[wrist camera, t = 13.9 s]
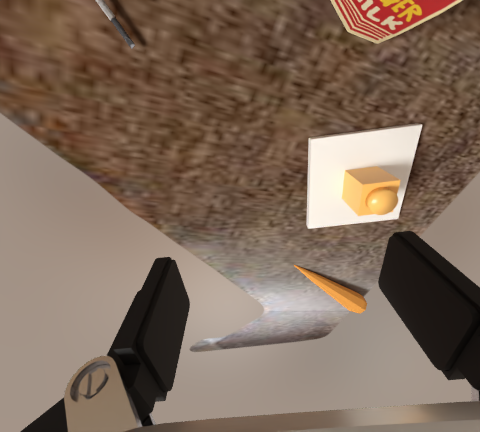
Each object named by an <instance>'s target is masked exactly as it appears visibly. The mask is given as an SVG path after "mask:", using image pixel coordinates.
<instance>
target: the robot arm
mask: <svg viewBox="0 0 480 432" xmlns="http://www.w3.org/2000/svg"><path fill="white" fill-rule="evenodd" d="M378 283H379V287H380V289H381V291H382V292H383V294H384V295H385V297H386V298H387V299H388V301H389V302H390V304H391V305H392V307H393V308H394V309H395V311H396V312H397V314H398V315H399V317H400V318H401V319H402V321H403V322H404V324H405V325H406V327H407V328H408V329H409V331H410V332H411V334H412V335H413V337H414V338H415V339H416V341H417V342H418V344H419V345H420V347H421V348H422V349H423V351H424V352H425V354H426V355H427V357H428V358H429V359H430V361H431V362H432V364H433V365H434V366H435V367H436V368H437V369H438V370H441V371H442V372H443V374H444V375H445V376H446V378H447V379H448V380H456V379H465V378H466V379H467V380H468V382H469V383H470V384H471V385H472V402H454V403H438V404H422V405H406V406H390V407H375V408H361V409H345V410H330V411H316V412H303V413H288V414H274V415H260V416H247V417H232V418H219V419H206V420H196V421H185V422H174V423H164V424H158V425H156V424H155V421H154V419H153V417H152V414H151V412H152V411H153V408H154V404H155V402H156V401H165V400H166V396H167V391H170V390H171V389H172V387H173V382H174V378H175V373H176V368H177V363H178V359H179V354H180V349H181V345H182V340H183V336H184V331H185V326H186V321H187V317H188V312H189V306H190V303H189V298H188V295H187V292H186V290H185V287H184V284H183V281H182V278H181V275H180V273H179V270H178V267H177V264H176V262H175V260H171V258H170V257H164V258H157V259H155V261H154V263H153V265H152V268H151V270H150V272H149V274H148V276H147V278H146V280H145V283H144V285H143V287H142V289H141V290H140V291H138V292H137V294H136V296H135V298H134V300H133V302H132V304H131V306H130V308H129V310H128V312H127V315H126V317H125V319H124V321H123V323H122V325H121V327H120V329H119V331H118V333H117V336H116V337H115V340H114V342H113V344H112V346H111V348H110V350H109V352H108V354H107V356H100V357H97V358H94V359H92V360H90V361H88V362H87V363H86V364H84V365H83V366H82V367H80V368H79V369H78V370H77V372H76V373H75V374H74V375H73V376H72V378H71V379H70V381H69V383H68V385H67V387H66V390H65V395H64V398H63V399H61V400H60V401H59V402H58V403H56V404H55V405H54V406H53V407H51V408H50V409H49V410H47V411H46V412H45V413H44V414H42V415H41V416H40V417H39V418H37V419H36V420H35V421H33V422H32V423H31V424H30V425H28V426H27V427H26V428H25V429H23V430H22V431H21V432H480V287H478V286H477V285H476V284H475V283H473V282H472V281H471V280H470V279H469V278H467V277H466V276H465V275H464V274H463V273H462V272H460V271H459V270H458V269H457V268H456V267H454V266H453V265H452V264H451V263H450V262H448V261H447V260H446V259H445V258H444V257H442V256H441V255H440V254H439V253H438V252H436V251H435V250H434V249H433V248H432V247H430V246H429V245H428V244H427V243H426V242H425V241H423V240H422V239H421V238H420V237H419V236H417V235H416V234H415V233H414V232H412V231H404V232H396V233H394V234H393V236H391V237H390V238H389V241H388V245H387V249H386V253H385V257H384V261H383V265H382V269H381V273H380V277H379V281H378Z"/></svg>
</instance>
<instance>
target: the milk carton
mask: <svg viewBox="0 0 480 432" xmlns="http://www.w3.org/2000/svg"><path fill="white" fill-rule="evenodd" d="M330 1H331V2H332V4H333V6H334V8H335V10H336V12H337V13H338V15H339V17H340V19H341V21H342V22H343V24H344V26H345V28H346V30H347V31H348V32H349V33H351V34H354V35H356V36H359V37H361V38H364V39H366V40H369V41H371V42H374V43H376V44H378V43H380V42H383V41H385V40H387V39H390V38H392V37H395V36H397V35H399V34H401V33H403V32H405V31H407V30H409V29H411V28H413V27H415V26H417V25H419V24H421V23H423V22H425V21H427V20H429V19H431V18H433V17H435V16H437V15H439V14H441V13H442V12H444V11H446V10H447V9H449V8H451V7H452V6H454V5H456V4H457V3H459V2H461V1H463V0H330Z"/></svg>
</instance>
